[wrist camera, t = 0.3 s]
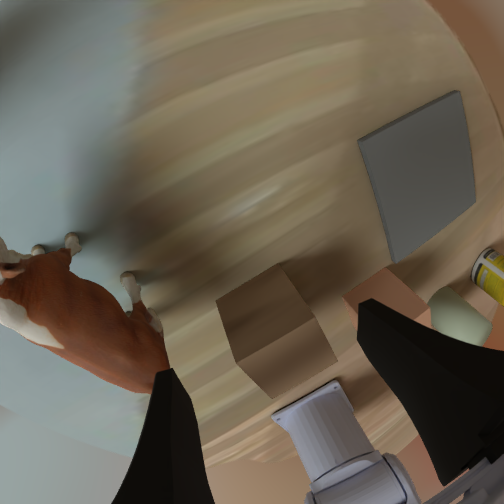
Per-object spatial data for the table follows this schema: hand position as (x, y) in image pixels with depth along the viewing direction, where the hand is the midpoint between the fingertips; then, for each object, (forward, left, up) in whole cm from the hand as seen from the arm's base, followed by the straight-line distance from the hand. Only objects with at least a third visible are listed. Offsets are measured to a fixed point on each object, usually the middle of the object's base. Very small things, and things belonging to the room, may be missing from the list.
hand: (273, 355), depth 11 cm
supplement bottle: (-20, -24, -10) cm, 33 cm away
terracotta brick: (-12, -8, -10) cm, 18 cm away
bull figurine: (+4, +8, -10) cm, 14 cm away
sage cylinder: (-20, -16, -10) cm, 28 cm away
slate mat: (-4, -16, -10) cm, 20 cm away
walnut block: (-6, 0, -10) cm, 12 cm away
